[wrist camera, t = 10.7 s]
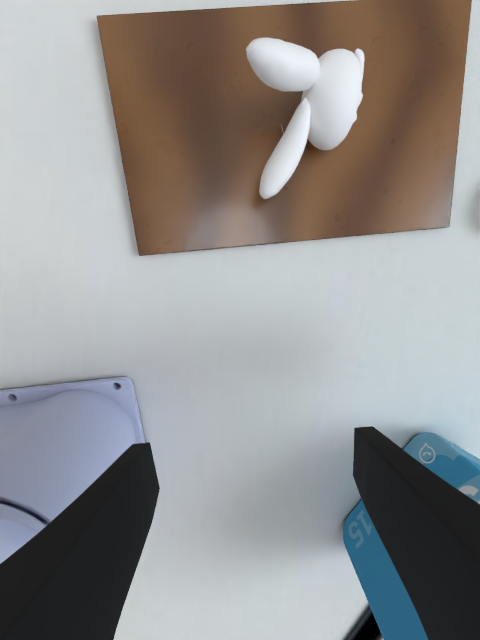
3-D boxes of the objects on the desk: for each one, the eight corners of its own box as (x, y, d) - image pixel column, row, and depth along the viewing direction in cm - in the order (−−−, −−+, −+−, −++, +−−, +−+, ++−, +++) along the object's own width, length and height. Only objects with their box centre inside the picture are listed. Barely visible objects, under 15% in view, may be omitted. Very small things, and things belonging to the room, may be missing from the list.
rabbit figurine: (372, 158, 16) (280, 211, 13) (318, 150, 18) (229, 193, 15) (402, 8, 12) (275, 36, 9) (327, 22, 14) (206, 47, 11)
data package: (423, 422, 21) (659, 623, 10) (463, 445, 22) (726, 657, 11) (336, 527, 24) (445, 795, 12) (375, 545, 24) (514, 812, 13)
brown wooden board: (140, 255, 17) (138, 255, 17) (99, 21, 14) (95, 15, 14) (444, 227, 18) (449, 227, 17) (466, -1, 15) (473, -8, 14)
